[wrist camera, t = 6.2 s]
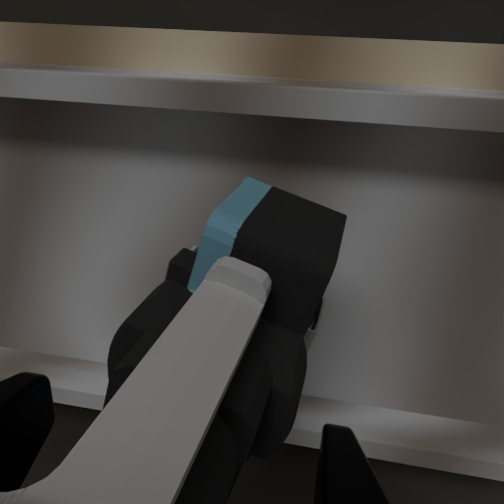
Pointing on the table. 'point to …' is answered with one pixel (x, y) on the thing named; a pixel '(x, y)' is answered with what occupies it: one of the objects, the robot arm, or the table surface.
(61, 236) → the rail board
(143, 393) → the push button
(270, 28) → the table surface
